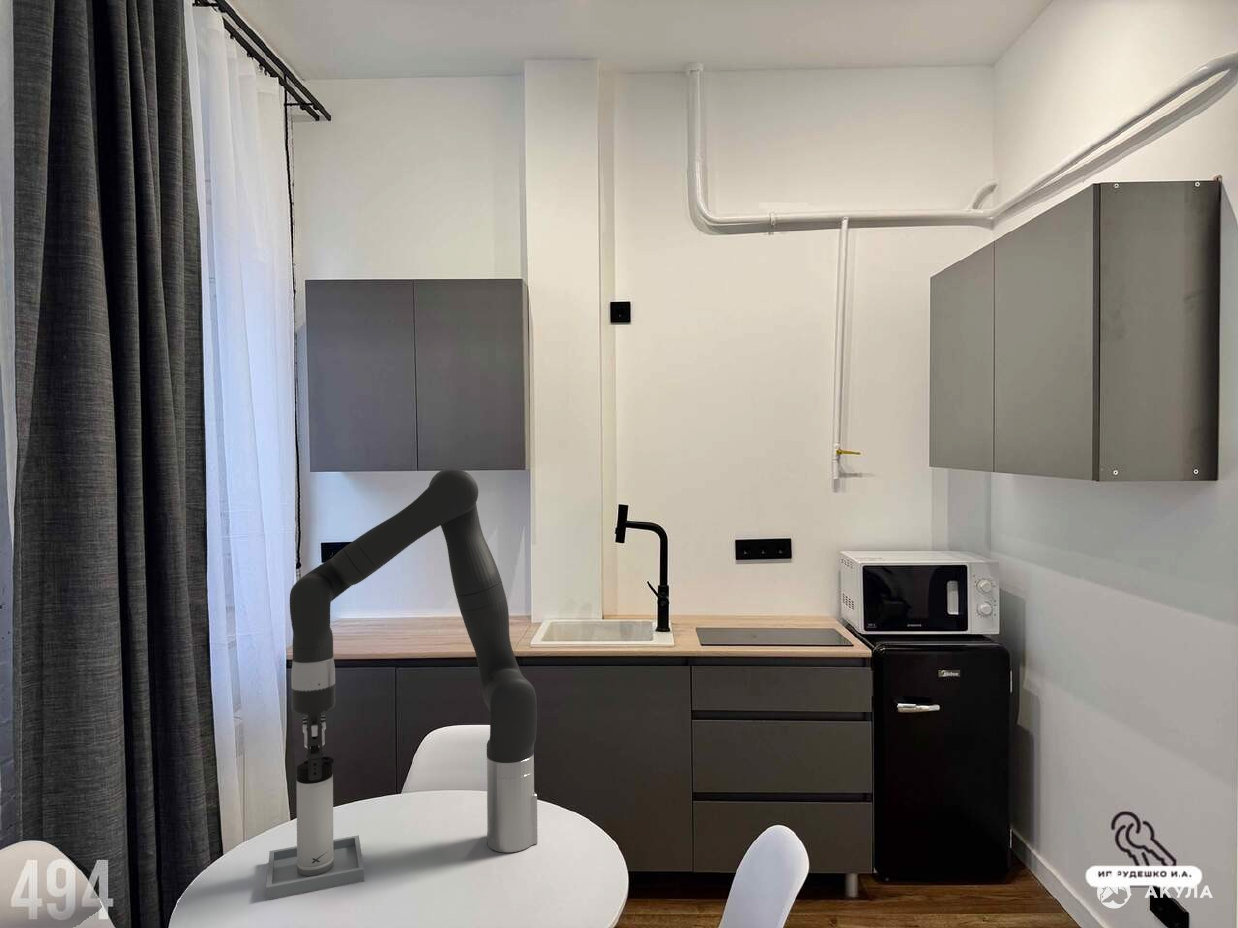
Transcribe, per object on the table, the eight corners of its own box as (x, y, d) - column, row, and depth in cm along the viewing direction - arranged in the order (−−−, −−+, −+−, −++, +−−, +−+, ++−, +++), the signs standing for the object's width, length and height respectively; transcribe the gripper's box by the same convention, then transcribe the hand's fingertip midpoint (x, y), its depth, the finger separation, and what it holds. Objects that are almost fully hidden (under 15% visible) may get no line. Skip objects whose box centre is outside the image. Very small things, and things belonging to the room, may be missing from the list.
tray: (358, 846, 153) (358, 835, 153) (364, 880, 140) (363, 868, 140) (269, 862, 147) (269, 850, 147) (266, 900, 134) (266, 887, 134)
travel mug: (323, 878, 140) (322, 766, 140) (289, 874, 142) (289, 764, 142) (341, 861, 146) (341, 754, 147) (310, 858, 148) (309, 751, 148)
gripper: (336, 690, 139) (338, 781, 139) (333, 671, 152) (335, 754, 152) (290, 695, 136) (292, 789, 136) (292, 675, 149) (293, 760, 149)
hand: (314, 770), depth 144 cm, fingers open, 8 cm apart
